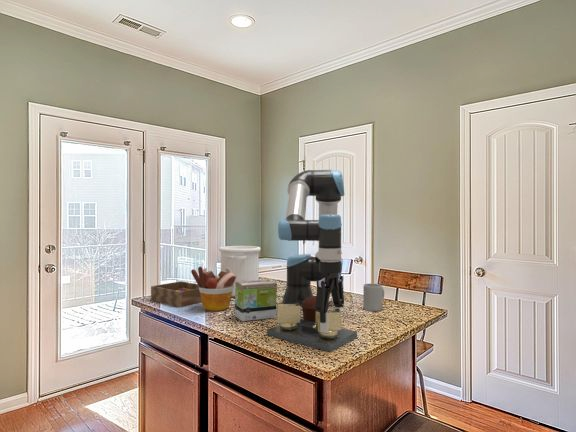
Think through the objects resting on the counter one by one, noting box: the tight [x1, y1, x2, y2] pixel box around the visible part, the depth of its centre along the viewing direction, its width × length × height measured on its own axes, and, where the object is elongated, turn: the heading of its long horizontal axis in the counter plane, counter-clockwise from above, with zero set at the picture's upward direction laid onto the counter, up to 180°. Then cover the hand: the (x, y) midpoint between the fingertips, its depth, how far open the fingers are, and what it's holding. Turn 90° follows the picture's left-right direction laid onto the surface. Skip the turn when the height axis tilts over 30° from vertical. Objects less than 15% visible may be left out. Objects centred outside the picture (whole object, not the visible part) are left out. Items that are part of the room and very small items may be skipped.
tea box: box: [234, 279, 278, 322], centre depth 155 cm, size 15×10×15 cm
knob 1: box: [276, 303, 301, 330], centre depth 133 cm, size 8×6×9 cm
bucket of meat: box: [190, 266, 236, 312], centre depth 169 cm, size 20×16×20 cm
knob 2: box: [316, 309, 342, 339], centre depth 124 cm, size 8×6×9 cm
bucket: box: [218, 245, 262, 298], centre depth 201 cm, size 26×22×25 cm
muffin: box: [300, 295, 331, 322], centre depth 149 cm, size 12×11×10 cm
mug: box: [362, 283, 385, 312], centre depth 171 cm, size 12×8×11 cm
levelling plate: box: [266, 318, 358, 353], centre depth 131 cm, size 26×18×4 cm
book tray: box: [150, 280, 202, 309], centre depth 184 cm, size 23×18×7 cm
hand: (330, 329), depth 124 cm, fingers closed on knob 2, 7 cm apart
